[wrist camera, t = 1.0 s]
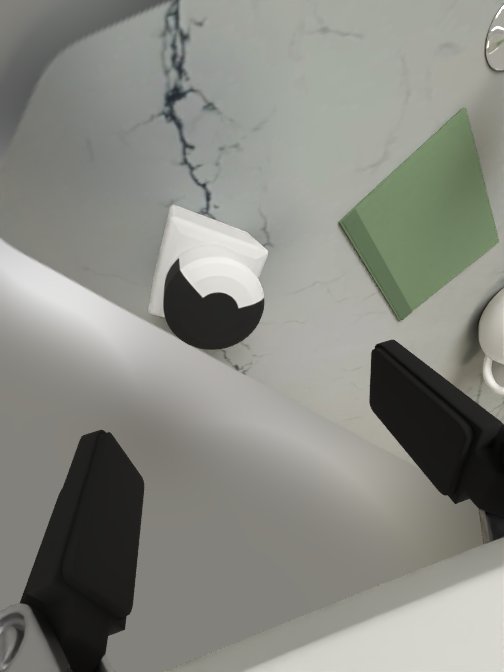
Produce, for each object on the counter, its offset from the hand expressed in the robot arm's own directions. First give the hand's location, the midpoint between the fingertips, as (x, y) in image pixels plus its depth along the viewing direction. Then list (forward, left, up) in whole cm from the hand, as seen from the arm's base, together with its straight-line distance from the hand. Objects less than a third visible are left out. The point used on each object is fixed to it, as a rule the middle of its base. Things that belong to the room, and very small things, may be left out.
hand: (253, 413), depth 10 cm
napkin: (+15, +19, -20) cm, 31 cm away
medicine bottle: (0, 0, -20) cm, 20 cm away
